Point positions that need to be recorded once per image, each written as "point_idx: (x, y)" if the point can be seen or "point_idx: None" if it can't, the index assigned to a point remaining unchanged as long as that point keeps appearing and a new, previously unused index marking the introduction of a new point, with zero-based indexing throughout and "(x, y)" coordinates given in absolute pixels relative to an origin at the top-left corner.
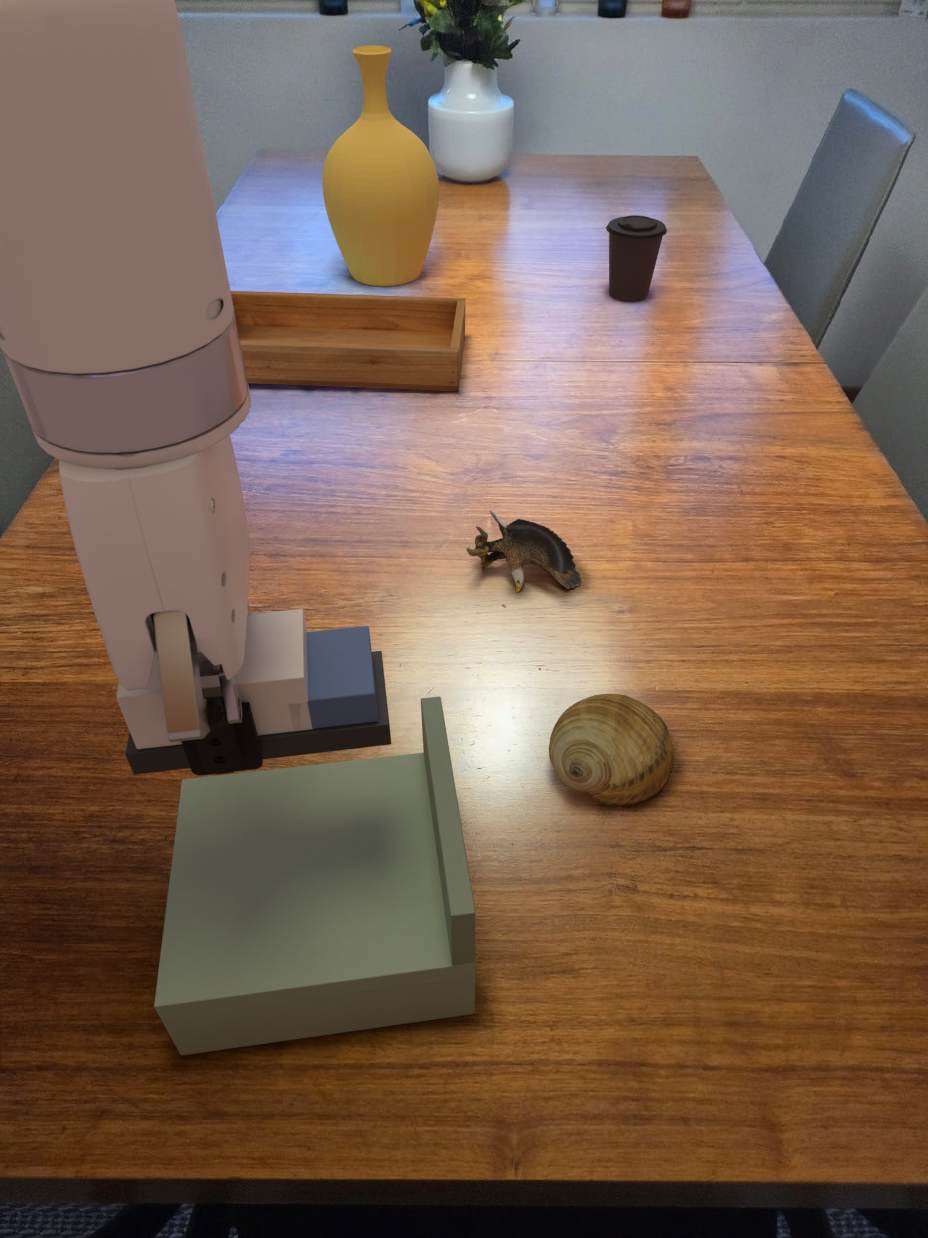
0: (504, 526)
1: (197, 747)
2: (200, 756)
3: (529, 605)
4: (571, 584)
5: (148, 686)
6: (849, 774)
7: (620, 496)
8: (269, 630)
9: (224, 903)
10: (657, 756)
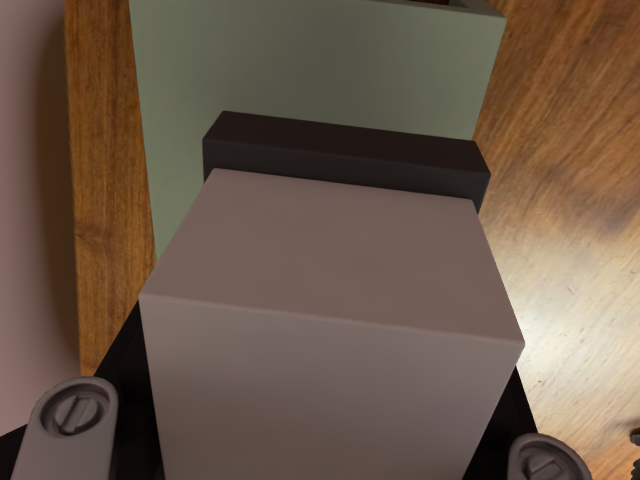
0: None
1: (114, 342)
2: (126, 320)
3: (635, 400)
4: (635, 439)
5: (185, 373)
6: None
7: None
8: None
9: (263, 73)
10: None
